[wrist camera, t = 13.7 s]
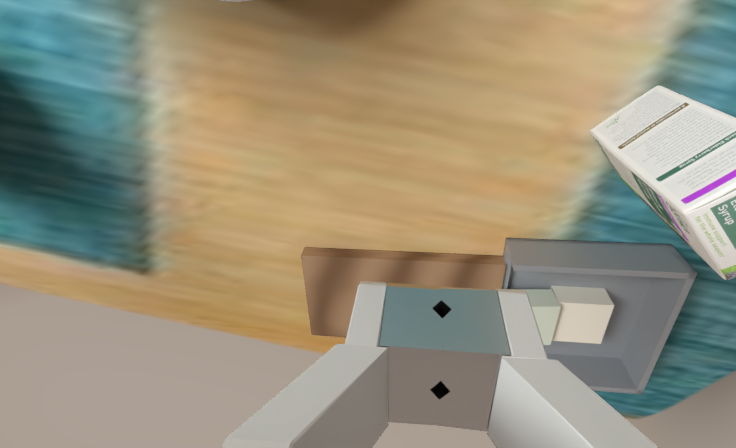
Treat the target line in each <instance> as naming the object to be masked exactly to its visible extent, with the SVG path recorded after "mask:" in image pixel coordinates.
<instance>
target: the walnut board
mask: <svg viewBox="0 0 736 448" xmlns="http://www.w3.org/2000/svg"><path fill="white" fill-rule="evenodd" d="M301 259H302V266H303V274H304V281H305V289H306V296H307V304H308V311H309V318H310V326H311V333H312V335H321V336H335V337H347V333H348V328H349V324H350V320H351V315H352V311H353V307H354V302H355V298H356V293H357V289H358V285H359V284H360V282H361V281H369V282H384V283H387V284H388V283H401V284H414V285H427V286H440V287H455V288H475V289H494V290H495V289H502V284H503V279H504V273H505V267H506V264H505V260H504V256H493V255H471V254H448V253H425V252H402V251H380V250H357V249H334V248H311V247H305V248H304V250H303V252H302V255H301Z"/></svg>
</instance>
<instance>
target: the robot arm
mask: <svg viewBox="0 0 736 448" xmlns="http://www.w3.org/2000/svg"><path fill="white" fill-rule="evenodd" d="M388 422H396V423H411V424H412V423H413V424H427V425H439V426H447V427H455V428H464V429H472V430H480V431H488V432H487V434H488V436H489V437H490V439H491V440H492V442H493V443H494V445H495V446H496V448H659V447H657V446H656V445H655V444H654V443H653V442H652V441H650V440H649V439H648V438H647V437H646V436H645V435H644V434H642V433H641V432H640V431H639V430H638V429H637V428H635V427H634V426H633V425H632V424H631V423H630V422H629V421H627V420H626V419H625V418H624V417H623V416H622V415H621V414H619V413H618V412H617V411H616V410H615V409H614V408H612V407H611V406H610V405H609V404H608V403H607V402H606V401H604V400H603V399H602V398H601V397H600V396H599V395H597V394H596V393H595V392H594V391H593V390H592V389H591V388H589V387H588V386H587V385H586V384H585V383H584V382H583V381H581V380H580V379H579V378H578V377H577V376H576V375H574V374H573V373H572V372H571V371H570V370H569V369H568V368H566V367H565V366H564V365H563V364H562V363H561V362H559V361H558V360H551V359H548V357H547V354H546V350H545V347H544V344H543V341H542V338H541V335H540V332H539V328H538V325H537V322H536V319H535V316H534V313H533V310H532V307H531V303H530V300H529V297H528V294H527V292H526V291H524V290H521V289H495V290H494V289H475V288H455V287H440V286H427V285H414V284H401V283H388V284H387V283H384V282H369V281H361V282H360V284H359V285H358V289H357V293H356V298H355V302H354V307H353V311H352V315H351V320H350V324H349V328H348V333H347V337H346V342H345V344H336V345H335V346H334V347H332V348H331V349H330V350H329V351H328V352H326V353H325V354H324V355H323V356H322V357H321V358H319V359H318V360H317V361H316V362H315V363H314V364H312V365H311V366H310V367H309V368H308V369H306V370H305V371H304V372H303V373H302V374H301V375H299V376H298V377H297V378H296V379H295V380H294V381H292V382H291V383H290V384H289V385H288V386H286V387H285V388H284V389H283V390H282V391H281V392H279V393H278V394H277V395H276V396H275V397H274V398H273V399H271V400H270V401H269V402H268V403H267V404H265V405H264V406H263V407H262V408H261V409H259V410H258V411H257V412H256V413H255V414H253V415H252V416H251V417H250V418H249V419H248V420H246V421H245V422H244V423H243V424H242V425H241V426H239V427H238V428H237V429H236V430H235V431H233V433H231V434H230V435H229V436H228V437H227V438H226V439H225V442H224V444H223V446H222V448H372V447H373V446H374V444H375V443H376V442H377V440H378V439H379V437H380V436H381V435H382V433H383V432H384V430H385V429H386V428H387V426H388Z"/></svg>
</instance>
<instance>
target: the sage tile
mask: <svg viewBox="0 0 736 448" xmlns="http://www.w3.org/2000/svg"><path fill="white" fill-rule="evenodd" d="M521 290H524V291H526V292H527V294H528V297H529V300H530V303H531V307H532V310H533V313H534V316H535V319H536V322H537V325H538V328H539V332H540V335H541V338H542V341H543V344H544V345H551V341H552V337H553V334H554V330H555V326H556V323H557V319H558V315H559V312H560V308H561V306H560V304H559V302H558V300H557V299H556V297H555V295H554V293H553V291H552V289H521Z"/></svg>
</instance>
